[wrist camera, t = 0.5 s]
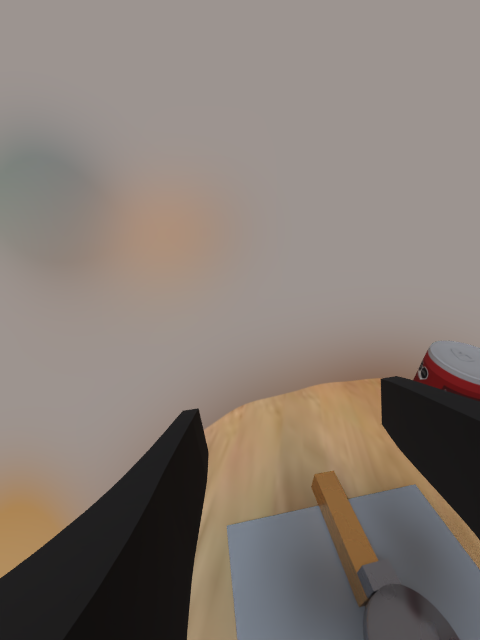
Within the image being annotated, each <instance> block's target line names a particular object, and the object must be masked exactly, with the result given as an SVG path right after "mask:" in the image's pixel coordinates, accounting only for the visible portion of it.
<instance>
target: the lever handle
mask: <svg viewBox="0 0 480 640" xmlns="http://www.w3.org/2000/svg"><path fill="white" fill-rule="evenodd" d="M311 487H312V490H313V492H314V495H315V497H316V500H317V503H318V505H319V508H320V510H321V513H322V515H323V518H324V520H325V523H326V525H327V528H328V530H329V533H330V535H331V538H332V541H333V543H334V546H335V548H336V551H337V553H338V556H339V558H340V561H341V563H342V566H343V568H344V571H345V573H346V576H347V579H348V581H349V584H350V586H351V589H352V591H353V594H354V596H355V599H356V601H357V604H358V606H359V607H362V606H366V608H365V611H364V616H363V637H364V640H460V639H459V637H458V636H457V634H456V633H455V631H454V629H453V628H452V627H451V625H450V624H449V623H448V621H447V620H446V619H445V617H444V616H443V615H442V614H441V613H440V612H439V611H438V609H437V608H436V607H435V606H434V605H433V604H432V603H430V602H429V601H428V600H427V599H426V598H425V597H423V596H422V595H421V594H419V593H418V592H416V591H415V590H413V589H411V588H409V587H406V586H404V585H400V584H401V582H400V580H399V578H398V577H397V575H396V573H395V571H394V569H393V567H392V565H391V563H390V561H389V559H384V560H381V561H378V559H377V557H376V555H375V553H374V551H373V549H372V547H371V545H370V543H369V541H368V539H367V537H366V534H365V532H364V530H363V528H362V526H361V524H360V522H359V520H358V518H357V516H356V514H355V512H354V510H353V508H352V506H351V504H350V502H349V500H348V498H347V496H346V494H345V492H344V490H343V488H342V486H341V484H340V482H339V480H338V478H337V476H336V474H335V472H334V471H329V472H324V473H319V474H315V475H314V479H313V483H312V486H311Z"/></svg>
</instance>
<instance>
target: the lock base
mask: <svg viewBox="0 0 480 640" xmlns="http://www.w3.org/2000/svg"><path fill="white" fill-rule="evenodd" d="M348 500H349V502H350V504H351V506H352V508H353V510H354V512H355V514H356V516H357V518H358V520H359V522H360V524H361V526H362V528H363V530H364V532H365V534H366V537H367V539H368V541H369V543H370V545H371V547H372V549H373V551H374V553H375V555H376V557H377V559H378V561H381V560H384V559H389V561H390V563H391V565H392V567H393V569H394V571H395V573H396V575H397V577H398V578H399V580H400V582H401V584H400V585H404V586H406V587H409V588H411V589H413V590H415V591H416V592H418V593H419V594H421V595H422V596H423V597H425V598H426V599H427V600H428V601H429V602H430V603H432V604H433V605H434V606H435V607H436V608H437V609H438V611H439V612H440V613H441V614H442V615H443V616H444V617H445V619H446V620H447V621H448V623H449V624H450V625H451V627H452V628H453V629H454V631H455V633H456V634H457V636H458V637H459V639H460V640H480V570H479V568H478V567H477V566H476V564H475V563H474V562H473V560H472V559H471V558H470V556H469V555H468V554H467V552H466V551H465V550H464V548H463V547H462V546H461V545H460V543H459V542H458V541H457V539H456V538H455V537H454V535H453V534H452V533H451V531H450V530H449V529H448V527H447V526H446V525H445V523H444V522H443V521H442V519H441V518H440V517H439V515H438V514H437V513H436V511H435V510H434V509H433V507H432V506H431V505H430V503H429V502H428V501H427V499H426V498H425V497H424V495H423V494H422V493H421V492H420V490H419V489H418V488H417V486H416V485H410V486H406V487H401V488H397V489H392V490H388V491H383V492H378V493H374V494H369V495H365V496H360V497H356V498H351V499H348ZM227 533H228V544H229V555H230V565H231V576H232V586H233V597H234V607H235V618H236V629H237V639H238V640H364V637H363V616H364V611H365V608H366V606H362V607H359V606H358V604H357V601H356V599H355V596H354V594H353V591H352V589H351V586H350V584H349V581H348V579H347V576H346V573H345V571H344V568H343V566H342V563H341V561H340V558H339V556H338V553H337V551H336V548H335V546H334V543H333V541H332V538H331V535H330V533H329V530H328V528H327V525H326V523H325V520H324V518H323V515H322V513H321V510H320V508H319V506H315V507H310V508H306V509H301V510H296V511H292V512H287V513H283V514H278V515H274V516H269V517H265V518H260V519H256V520H251V521H246V522H242V523H237V524H233V525H228V526H227Z"/></svg>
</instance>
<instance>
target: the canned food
mask: <svg viewBox="0 0 480 640" xmlns="http://www.w3.org/2000/svg"><path fill="white" fill-rule="evenodd" d="M413 381H416V382H420V383H423V384H426V385H429V386H432V387H435V388H439V389H442V390H445V391H448V392H451V393H454V394H457V395H460V396H464V397H467V398H470V399H473V400H476V401H480V348H478V347H475V346H472V345H468V344H464V343H460V342H454V341H437V342H434V343H432V345H431V346H430V348H429V349H428V351H427V353H426V355H425V357H424V358H423V361H422V363H421V365H420V367H419V369H418V371H417V373H416V376H415V378H414V380H413Z"/></svg>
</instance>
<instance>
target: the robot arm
mask: <svg viewBox="0 0 480 640" xmlns="http://www.w3.org/2000/svg"><path fill="white" fill-rule="evenodd" d="M381 406H382V425H383V427H384V428H385V429H386V431H387V432H388V434H389V435H390V437H391V438H392V439H393V441H394V442H395V444H396V445H397V446H398V448H399V449H400V450H401V451H402V452H403V454H404V455H405V456H406V457H407V458H408V459H409V460H410V462H411V463H412V464H413V465H414V466H415V467H416V468H417V469H418V471H419V472H420V473H421V474H422V475H423V476H424V477H425V478H426V479H427V480H428V482H429V483H430V484H431V485H432V486H433V487H434V488H435V489H436V490H437V491H438V493H439V494H440V495H441V496H442V497H443V498H444V499H445V500H446V501H447V502H448V504H449V505H450V506H451V507H452V508H453V509H454V510H455V511H456V512H457V514H458V515H459V516H460V517H461V518H462V519H463V520H464V522H465V523H466V524H467V525H468V526H469V527H470V529H471V530H472V531H473V532H474V533H475V535H476V536H477V537H478V538H479V540H480V401H476V400H473V399H470V398H467V397H464V396H460V395H457V394H454V393H451V392H448V391H445V390H442V389H439V388H435V387H432V386H429V385H426V384H423V383H420V382H416V381H413V380H410V379H406V378H402V377H397V376H395V377H389V378H383V379H381ZM207 472H208V448H207V444H206V439H205V435H204V430H203V426H202V422H201V418H200V413H199V409H192V410H186V411H183V412H182V413H181V414H180V415H179V416H178V417H177V418H176V419H175V421H174V422H173V423H172V424H171V425H170V426H169V428H168V429H167V430H166V431H165V432H164V434H163V435H162V436H161V437H160V438H159V439H158V440H157V441H156V442H155V444H154V445H153V446H152V447H151V448H150V450H148V451H147V452H146V454H145V455H144V456H143V457H142V458H141V459H140V460H139V461H138V462H137V463H136V464H135V465H134V466H133V467H132V468H131V469H130V470H129V471H128V472H127V473H126V474H125V475H124V476H123V477H122V478H121V479H120V480H119V481H118V482H117V483H116V484H115V485H114V486H113V487H112V488H111V489H110V490H109V491H108V492H107V493H106V494H104V495H103V496H102V497H101V498H100V499H99V500H98V501H97V502H96V503H94V504H93V505H92V506H91V507H90V508H89V509H88V510H86V511H85V512H84V513H83V514H82V515H80V516H79V517H78V518H77V519H76V520H74V521H73V522H72V523H71V524H70V525H68V526H67V527H66V528H65V529H63V530H62V531H61V532H60V533H59V534H57V535H56V536H55V537H54V538H53V539H51V540H50V541H49V542H48V543H46V544H45V545H44V546H43V547H41V548H40V549H39V550H37V551H36V552H35V553H34V554H32V555H31V556H30V557H28V558H27V559H26V560H24V561H23V562H22V563H20V564H19V565H18V566H16V567H15V568H14V569H13V570H11V571H10V572H8V573H7V574H6V575H4V576H3V577H2V578H0V640H187V628H188V617H189V605H190V594H191V583H192V573H193V566H194V558H195V552H196V546H197V540H198V533H199V527H200V521H201V515H202V509H203V503H204V497H205V490H206V484H207Z"/></svg>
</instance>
